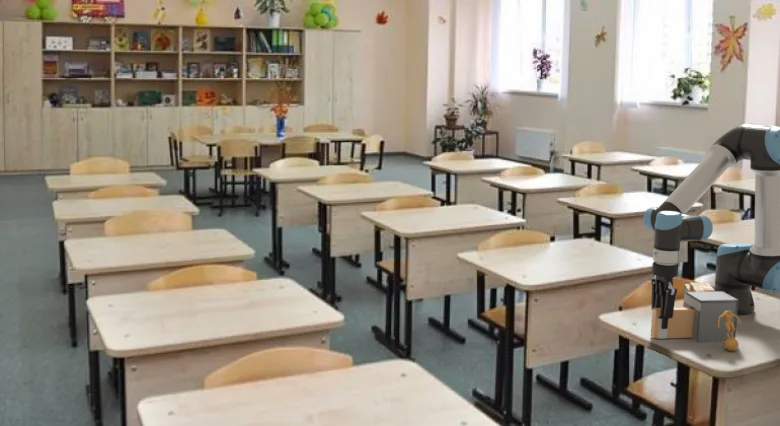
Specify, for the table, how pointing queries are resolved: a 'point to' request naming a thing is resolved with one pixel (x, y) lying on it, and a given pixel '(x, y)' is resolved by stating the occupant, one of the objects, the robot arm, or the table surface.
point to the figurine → (729, 343)
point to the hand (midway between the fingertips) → (660, 336)
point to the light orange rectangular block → (675, 323)
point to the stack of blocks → (697, 288)
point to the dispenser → (711, 314)
